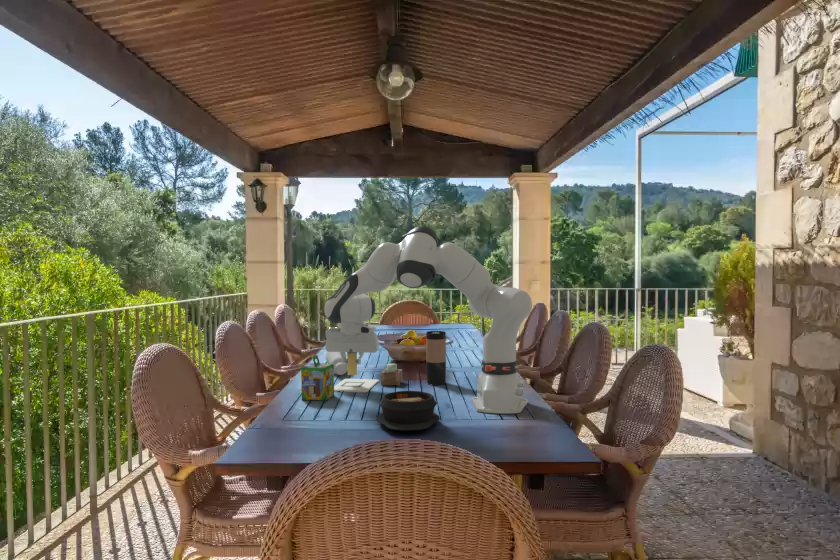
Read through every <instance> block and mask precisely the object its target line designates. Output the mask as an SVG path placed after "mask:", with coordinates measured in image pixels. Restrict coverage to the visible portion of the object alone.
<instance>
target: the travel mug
mask: <svg viewBox="0 0 840 560" xmlns="http://www.w3.org/2000/svg"><path fill="white" fill-rule="evenodd" d="M446 337H447V336H446V331H443V330H428V331H426V338H425V339H426V341H425V342H426V343H425V344H426V348H425V349H426V350H425V352H426V354H425V355H426V359H425V360H426V362H425V364H426V382H427V383H428V384H427V383H426V384H427V385H430V384H432V386H441V384H443V385H445V384H446V379H447V377H446V375H447V374H446V372H447V371H446V369H447V353H446V352H447V346H446V345H447V341H446V339H447V338H446Z"/></svg>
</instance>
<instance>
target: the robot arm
mask: <svg viewBox="0 0 840 560" xmlns="http://www.w3.org/2000/svg"><path fill="white" fill-rule="evenodd" d="M399 239H400V240H399V241H400V242H399V243H394V242H389V241H387V242H383V243H381V244H379V245H378V246H377V247H376V248H375V249H374V251H373V252H372V253H370V254H371V255H369V258H368V259H367V260H366V262H365V263H364V265H363V266H362V267H360V268H359V269H357V270H356V271H355V272H353V273H351V274H350V275H348V276H347V277H346V279H345V280H344V281H343V282H342V283H341V285H340V286H339V287H338V289H336V291H335V292H334V293H333V294H332V295H330V296H329V297H328V298H327V299H326V301H325V303H324V309H323V312H324V316H325V318H326V319H327V320H328V321H329V322H330V323H332V324H339V327H329V328H327V329H326V331H325V338H326V340H325V350H326V353H327V352H340V355H341V357H342V358H343V363H344V364H347V359H346V358H347V356H346V357H345V355H344V354H345V353H347V352H349V349H352V351H353V352H357V353H358V355H359V357H358V358H357V359H356V364H357V365H361V364H362V358H363V357H364V355H365V354H364V353H367V354H371V353H373V354H375V353H377V352H378V351H379V350H380V347H379V346H380V345H379V338H378V335H377V333H376V326H375V325H372V324H369V323H365V322H367V321H370V320H371V319H372V318H373V317H374V316H375V314H376V302H375V300H374V299H373V297H371V296H370V295H367V294H369V293H379V292H381V291H382V292H383V291H385V290H386V289H388V288H389V287H390V286H392V284H393V283H394V282H395V279H397V280H398V282H399V283H400V285H402V286H405V288H410V289H417V288H420V287H423V286H426V285H427V284H428V283H430V282H431V283H432V282H434V281H435V280H436V278H437V275H441V276H442V277H443V278H444V279H445V280H447V281H448V282H449V283H450V284H451V285H453V286H454V287H455V288H456V289H457V290H458V291H459V292H460V293H461V294H462V295H464V296H465V297H466V299H467V300H468V306H469V309H470V311H472V313H473V314H475V315H477V316H479V317H482V318H483V319H484V318H485V319H492V323H491V327H490V329H489V331H487V333H485V334H484V336H483V338H482V359H481V373H480V374H479V375H477V389H476V391H475V393H476V394H477V396H472V397H471V399H470V401H471V403H472V404H473V406H474V408H475V409H474V410H476V412H480V413H487V414H503V415H504V414H520V413H522V411H523V410H524V409H525V407H526V406H527V405H528V403H529V401H528V398H525V397H524V398H523V394H524V389H523V385H524V384H523V383H522V382H523V381H522V377H521V375H519V374H518V367H519V365H518V360H517V339H518V333H519V330H520V328H521V325H522V323H523V322H524V320H526V319H527V318H528V317H529V315H531V311H532V308H533V301H532V298H531V296H530V295H529V293H528V292H526V291H524V290H522V289H519V288H516V287H510V286H509V287H507V286H499V285H496V284H494V283H493V282H492V281H491V275H490V271H489V270H488V269H487V268H486V267H485V266H483V265H482V263H481V262H479V261H478V260H477V259H476V258H475V257H474V256H473V255H472V254H470V253H469V252H468V251H467V250H466V249H464V248H462V247H461V246H459V245H457V244H456V243H453V242H449V241H448V242H447V241H446V242H444V243H441V244H440V245H439V244H438V243H439V240H438V235H437V233H436V232H435V231H434V230H433V229H432V228H429V227H426V226H416V227H414V228H412V229H411V230H409V231H408V232H407V233H406V234H403V235H402V236H401V237H400V238H399Z"/></svg>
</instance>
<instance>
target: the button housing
mask: <svg viewBox="0 0 840 560" xmlns="http://www.w3.org/2000/svg"><path fill="white" fill-rule="evenodd" d="M401 382H402V383H403V369H402V368H401V369H399V368H397V372H387V368H384V369H382V371H380V386H388V385H399V386H400V385H401V384H402V383H401ZM400 383H401V384H400Z"/></svg>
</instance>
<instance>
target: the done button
mask: <svg viewBox="0 0 840 560" xmlns="http://www.w3.org/2000/svg"><path fill="white" fill-rule="evenodd" d="M386 369H387V372H397V369H398V365H397V363H387V364H386Z"/></svg>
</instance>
